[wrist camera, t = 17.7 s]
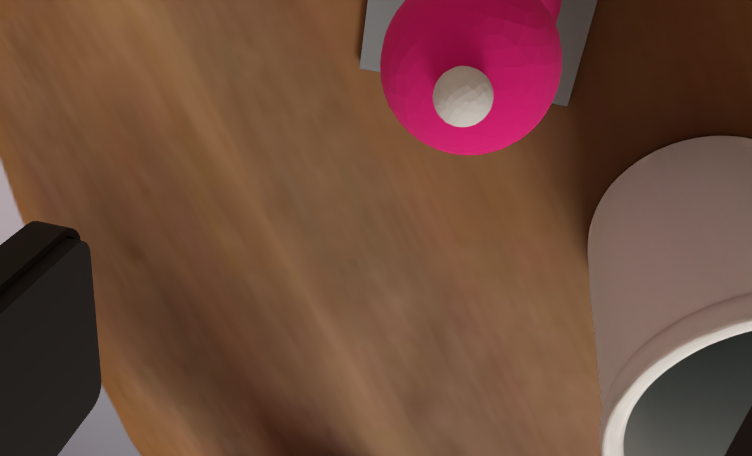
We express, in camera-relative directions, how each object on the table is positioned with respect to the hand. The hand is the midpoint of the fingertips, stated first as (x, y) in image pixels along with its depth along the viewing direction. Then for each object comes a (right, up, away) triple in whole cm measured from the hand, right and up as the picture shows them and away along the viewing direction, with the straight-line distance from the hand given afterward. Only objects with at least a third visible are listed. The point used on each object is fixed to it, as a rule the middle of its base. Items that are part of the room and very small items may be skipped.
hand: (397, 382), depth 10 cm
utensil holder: (+20, +1, +33) cm, 38 cm away
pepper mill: (+6, +15, +27) cm, 32 cm away
